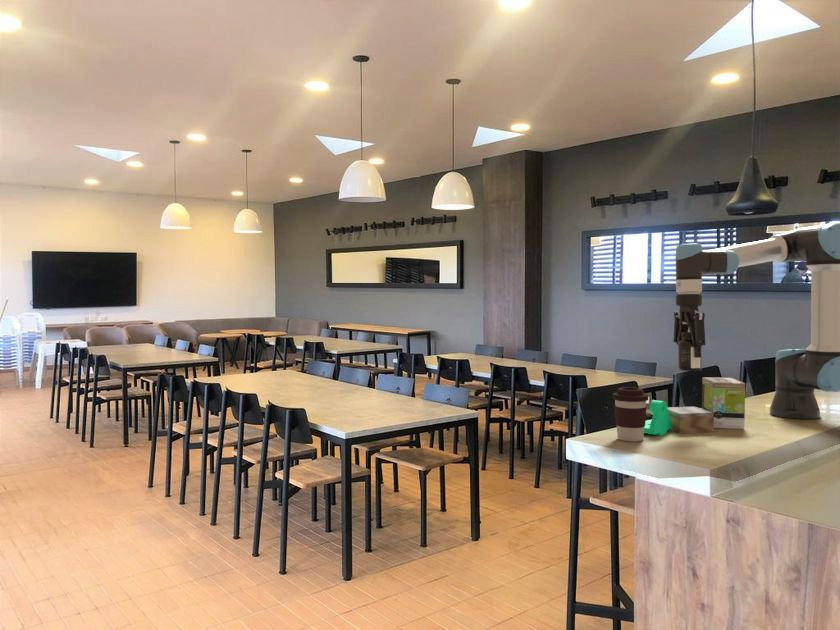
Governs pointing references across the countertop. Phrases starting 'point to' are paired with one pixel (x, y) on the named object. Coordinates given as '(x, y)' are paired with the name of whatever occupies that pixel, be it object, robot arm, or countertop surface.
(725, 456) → the countertop surface
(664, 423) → the camera mount
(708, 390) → the tea box
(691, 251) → the robot arm
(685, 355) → the supplement bottle
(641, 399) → the coffee cup
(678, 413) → the walnut stand
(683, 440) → the countertop surface
